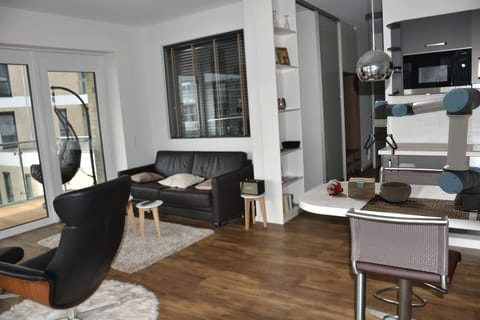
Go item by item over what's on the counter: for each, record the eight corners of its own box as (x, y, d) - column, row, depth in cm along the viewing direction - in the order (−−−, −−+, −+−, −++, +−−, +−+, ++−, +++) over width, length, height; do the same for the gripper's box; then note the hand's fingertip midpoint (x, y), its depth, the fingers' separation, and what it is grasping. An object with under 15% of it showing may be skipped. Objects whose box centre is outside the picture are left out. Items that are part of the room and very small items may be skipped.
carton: (374, 197, 245) (374, 183, 244) (347, 196, 250) (347, 183, 249) (375, 192, 258) (375, 179, 257) (349, 191, 263) (349, 178, 262)
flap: (373, 189, 237) (373, 183, 236) (347, 188, 242) (347, 182, 242) (374, 181, 257) (374, 176, 256) (350, 181, 262) (350, 175, 262)
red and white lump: (332, 189, 270) (348, 196, 257) (320, 192, 264) (336, 198, 251) (333, 177, 267) (350, 183, 255) (321, 179, 262) (337, 185, 249)
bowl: (375, 201, 236) (375, 185, 234) (386, 195, 249) (386, 180, 248) (405, 205, 225) (405, 188, 223) (414, 199, 238) (415, 183, 237)
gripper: (402, 125, 241) (401, 159, 244) (360, 125, 251) (360, 158, 254) (402, 126, 234) (401, 161, 238) (359, 126, 244) (358, 160, 247)
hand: (380, 160), depth 246 cm, fingers open, 13 cm apart
